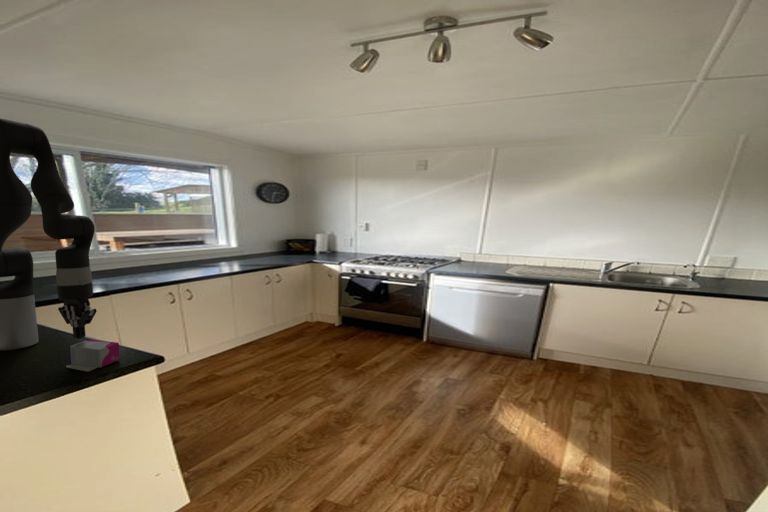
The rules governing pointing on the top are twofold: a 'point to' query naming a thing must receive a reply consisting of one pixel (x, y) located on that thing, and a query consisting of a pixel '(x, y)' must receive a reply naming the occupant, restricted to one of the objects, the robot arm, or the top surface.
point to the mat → (81, 367)
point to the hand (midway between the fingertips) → (79, 337)
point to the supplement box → (94, 353)
